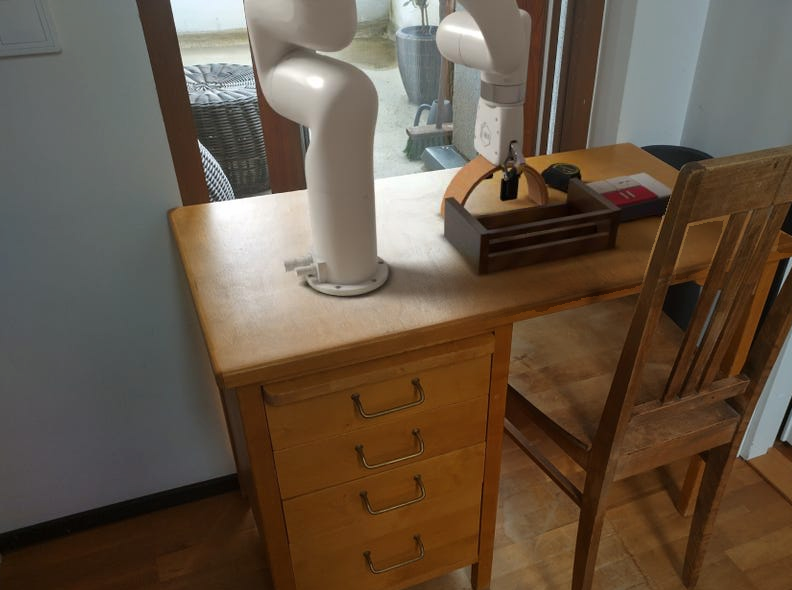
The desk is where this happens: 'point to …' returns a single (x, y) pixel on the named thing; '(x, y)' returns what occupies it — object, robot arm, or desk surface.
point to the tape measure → (560, 175)
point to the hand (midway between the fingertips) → (496, 189)
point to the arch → (482, 169)
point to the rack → (533, 230)
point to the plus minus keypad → (635, 195)
